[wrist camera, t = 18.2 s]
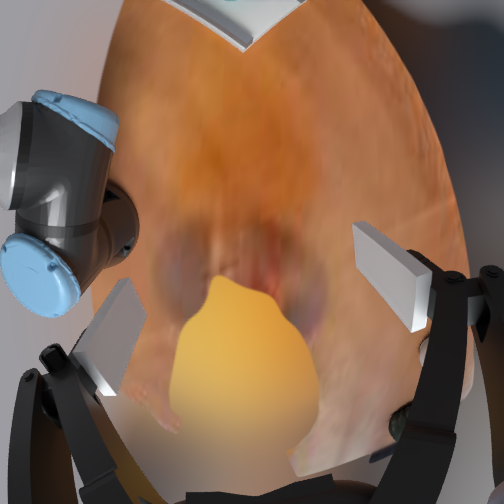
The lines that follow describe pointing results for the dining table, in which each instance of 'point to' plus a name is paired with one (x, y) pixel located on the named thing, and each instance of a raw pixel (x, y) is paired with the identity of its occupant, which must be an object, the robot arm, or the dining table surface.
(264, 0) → the rail board
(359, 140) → the dining table surface
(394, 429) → the squash
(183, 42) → the dining table surface
